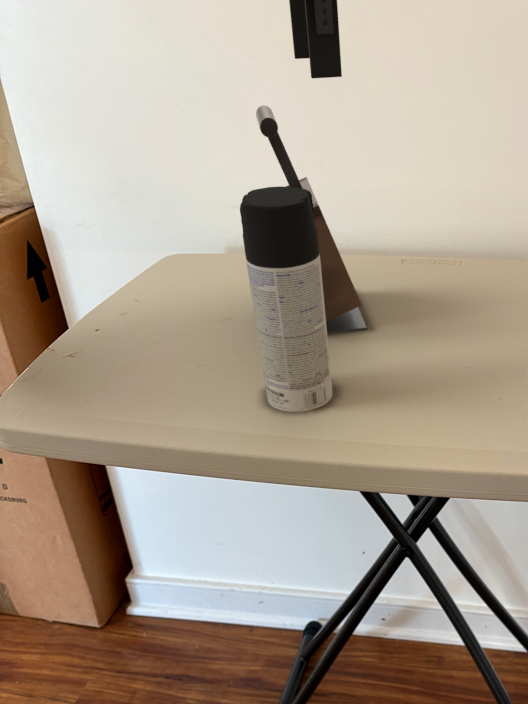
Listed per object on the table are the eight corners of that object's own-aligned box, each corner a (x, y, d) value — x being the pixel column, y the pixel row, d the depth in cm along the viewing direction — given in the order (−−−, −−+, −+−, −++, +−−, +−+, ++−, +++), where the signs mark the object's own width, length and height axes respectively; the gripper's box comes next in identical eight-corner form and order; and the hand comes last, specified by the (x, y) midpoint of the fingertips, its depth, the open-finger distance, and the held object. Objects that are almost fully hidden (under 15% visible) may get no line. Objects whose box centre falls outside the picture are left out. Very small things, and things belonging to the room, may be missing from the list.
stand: (352, 298, 99) (351, 290, 98) (367, 335, 90) (367, 327, 89) (293, 304, 98) (293, 296, 97) (303, 342, 89) (302, 334, 88)
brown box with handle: (346, 269, 96) (271, 96, 83) (362, 305, 87) (280, 116, 74) (289, 296, 97) (206, 127, 84) (299, 334, 88) (206, 152, 74)
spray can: (337, 386, 80) (319, 184, 67) (328, 419, 75) (306, 206, 62) (275, 386, 80) (245, 184, 68) (262, 418, 75) (227, 207, 62)
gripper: (366, -277, 51) (379, 84, 65) (317, -221, 70) (335, 49, 84) (255, -279, 50) (291, 89, 64) (236, -222, 69) (267, 52, 83)
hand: (316, 67), depth 74 cm, fingers open, 13 cm apart
